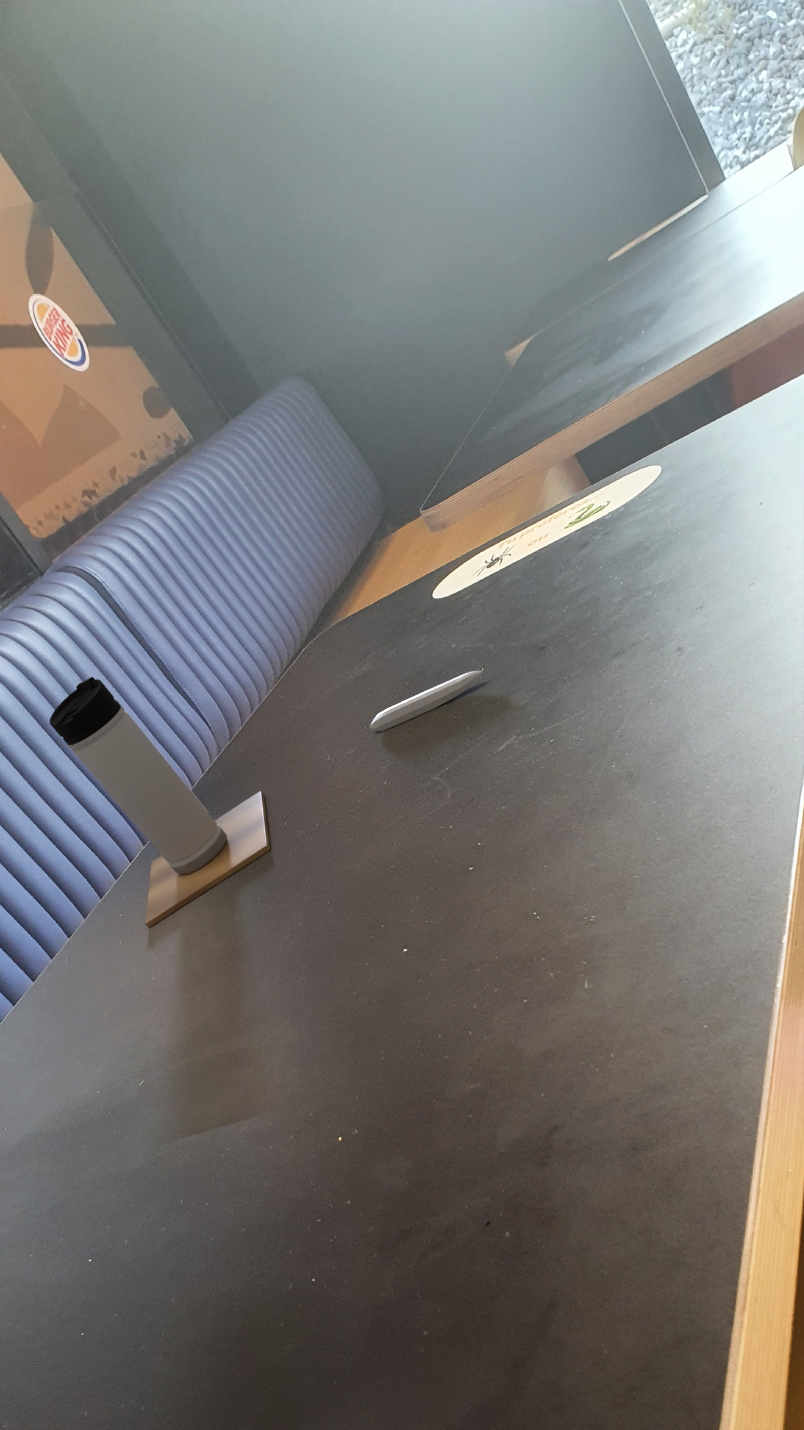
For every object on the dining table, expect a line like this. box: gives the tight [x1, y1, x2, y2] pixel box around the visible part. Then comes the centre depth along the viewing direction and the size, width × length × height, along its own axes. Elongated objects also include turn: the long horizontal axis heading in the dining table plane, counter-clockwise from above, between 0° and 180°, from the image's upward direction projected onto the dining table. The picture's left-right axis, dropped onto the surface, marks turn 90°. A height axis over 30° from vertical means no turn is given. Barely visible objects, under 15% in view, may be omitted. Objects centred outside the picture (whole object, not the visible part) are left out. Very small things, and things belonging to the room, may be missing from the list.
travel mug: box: [49, 676, 227, 875], centre depth 111 cm, size 6×7×20 cm
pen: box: [369, 670, 484, 732], centre depth 116 cm, size 2×14×2 cm, turn 80°
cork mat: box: [144, 790, 271, 929], centre depth 116 cm, size 14×14×1 cm
